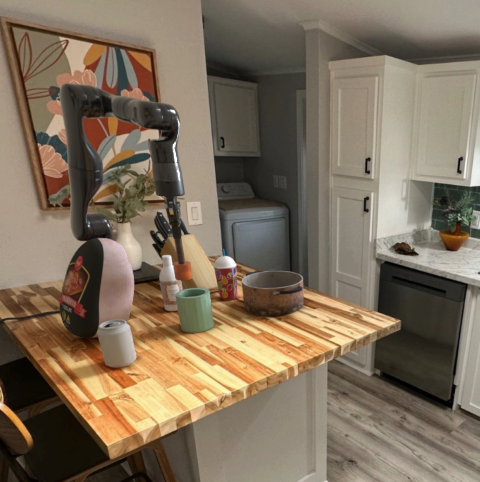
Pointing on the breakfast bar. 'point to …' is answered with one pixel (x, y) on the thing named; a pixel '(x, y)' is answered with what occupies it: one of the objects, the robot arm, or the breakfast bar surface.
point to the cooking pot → (272, 292)
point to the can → (116, 343)
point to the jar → (194, 310)
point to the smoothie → (226, 277)
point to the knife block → (185, 254)
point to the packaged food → (96, 287)
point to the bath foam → (169, 284)
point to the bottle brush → (181, 263)
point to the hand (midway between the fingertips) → (177, 237)
